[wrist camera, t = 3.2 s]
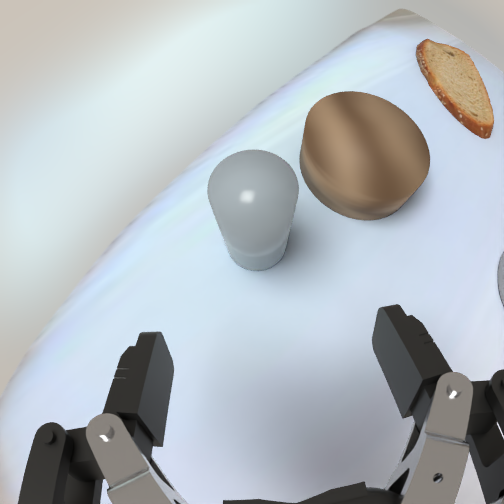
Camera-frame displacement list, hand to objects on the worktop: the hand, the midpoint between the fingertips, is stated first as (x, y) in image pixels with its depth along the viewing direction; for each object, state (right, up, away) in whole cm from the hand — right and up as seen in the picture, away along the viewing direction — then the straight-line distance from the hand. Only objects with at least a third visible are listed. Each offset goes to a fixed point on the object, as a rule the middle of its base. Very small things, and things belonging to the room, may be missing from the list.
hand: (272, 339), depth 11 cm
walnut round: (+10, +12, +18) cm, 24 cm away
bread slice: (+31, +29, +23) cm, 48 cm away
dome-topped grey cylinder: (0, +4, +16) cm, 17 cm away
